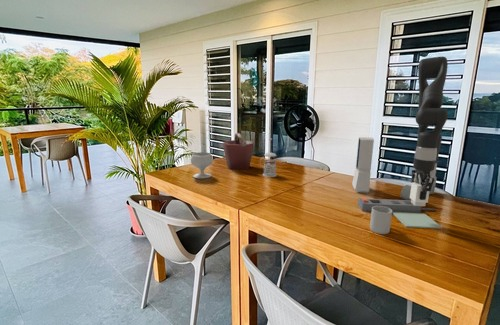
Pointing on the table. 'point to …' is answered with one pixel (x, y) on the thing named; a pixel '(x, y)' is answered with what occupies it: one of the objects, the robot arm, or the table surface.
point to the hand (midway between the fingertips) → (419, 197)
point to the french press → (267, 170)
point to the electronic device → (363, 165)
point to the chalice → (201, 163)
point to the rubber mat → (416, 220)
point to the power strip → (391, 205)
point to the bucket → (238, 153)
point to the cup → (380, 219)
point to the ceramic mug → (406, 192)
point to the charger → (417, 195)
